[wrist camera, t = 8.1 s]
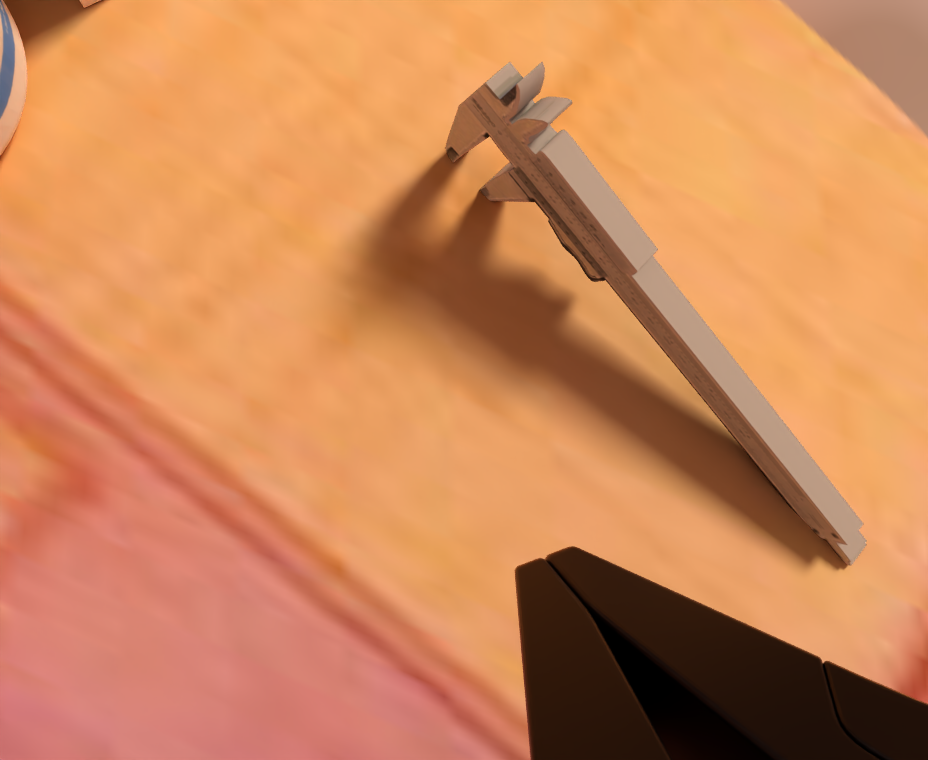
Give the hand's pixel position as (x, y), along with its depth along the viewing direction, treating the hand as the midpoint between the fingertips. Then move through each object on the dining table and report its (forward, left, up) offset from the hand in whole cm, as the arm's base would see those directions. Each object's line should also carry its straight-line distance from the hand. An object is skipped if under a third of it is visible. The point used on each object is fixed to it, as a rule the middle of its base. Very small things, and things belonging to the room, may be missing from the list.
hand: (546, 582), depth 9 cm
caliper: (+7, -7, -14) cm, 17 cm away
